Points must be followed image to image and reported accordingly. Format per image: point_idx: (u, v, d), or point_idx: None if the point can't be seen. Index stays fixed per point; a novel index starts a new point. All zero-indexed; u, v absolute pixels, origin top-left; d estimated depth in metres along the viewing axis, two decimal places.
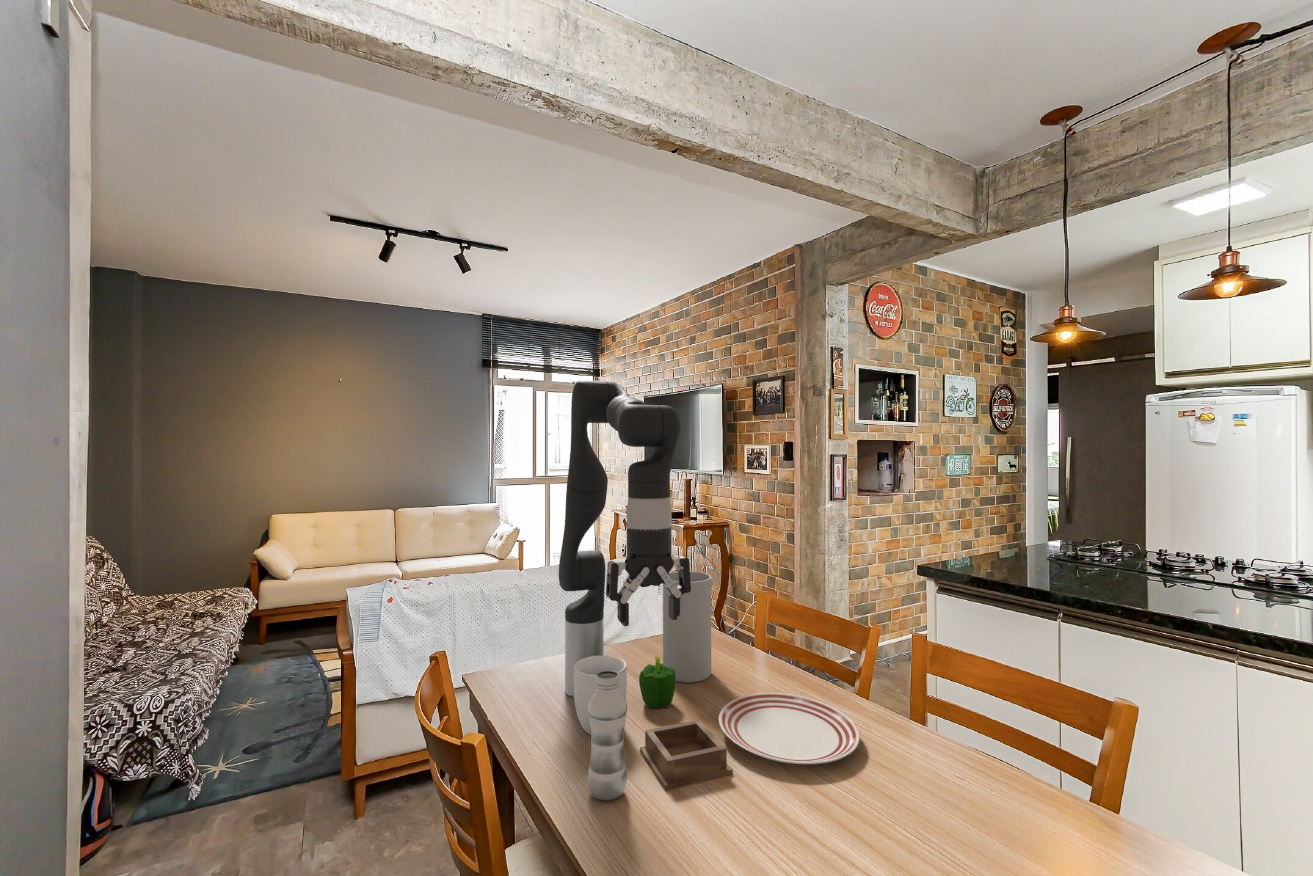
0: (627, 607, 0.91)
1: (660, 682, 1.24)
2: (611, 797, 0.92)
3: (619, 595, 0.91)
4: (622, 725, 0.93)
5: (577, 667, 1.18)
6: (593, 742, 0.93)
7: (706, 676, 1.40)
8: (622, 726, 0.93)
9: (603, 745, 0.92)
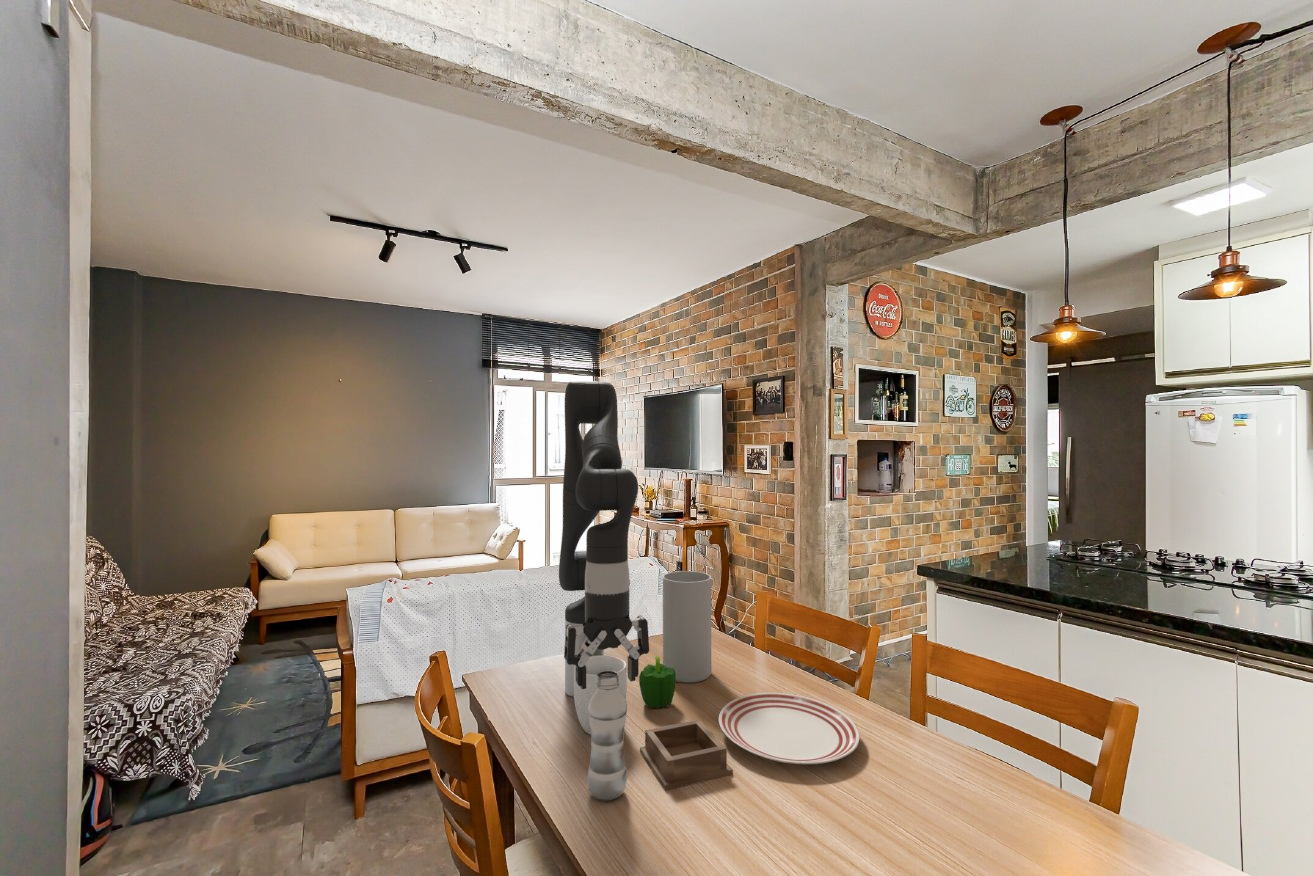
0: (584, 670, 0.92)
1: (660, 682, 1.24)
2: (611, 797, 0.92)
3: (577, 658, 0.92)
4: (622, 725, 0.93)
5: None
6: (593, 742, 0.93)
7: (706, 676, 1.40)
8: (622, 726, 0.93)
9: (603, 745, 0.92)
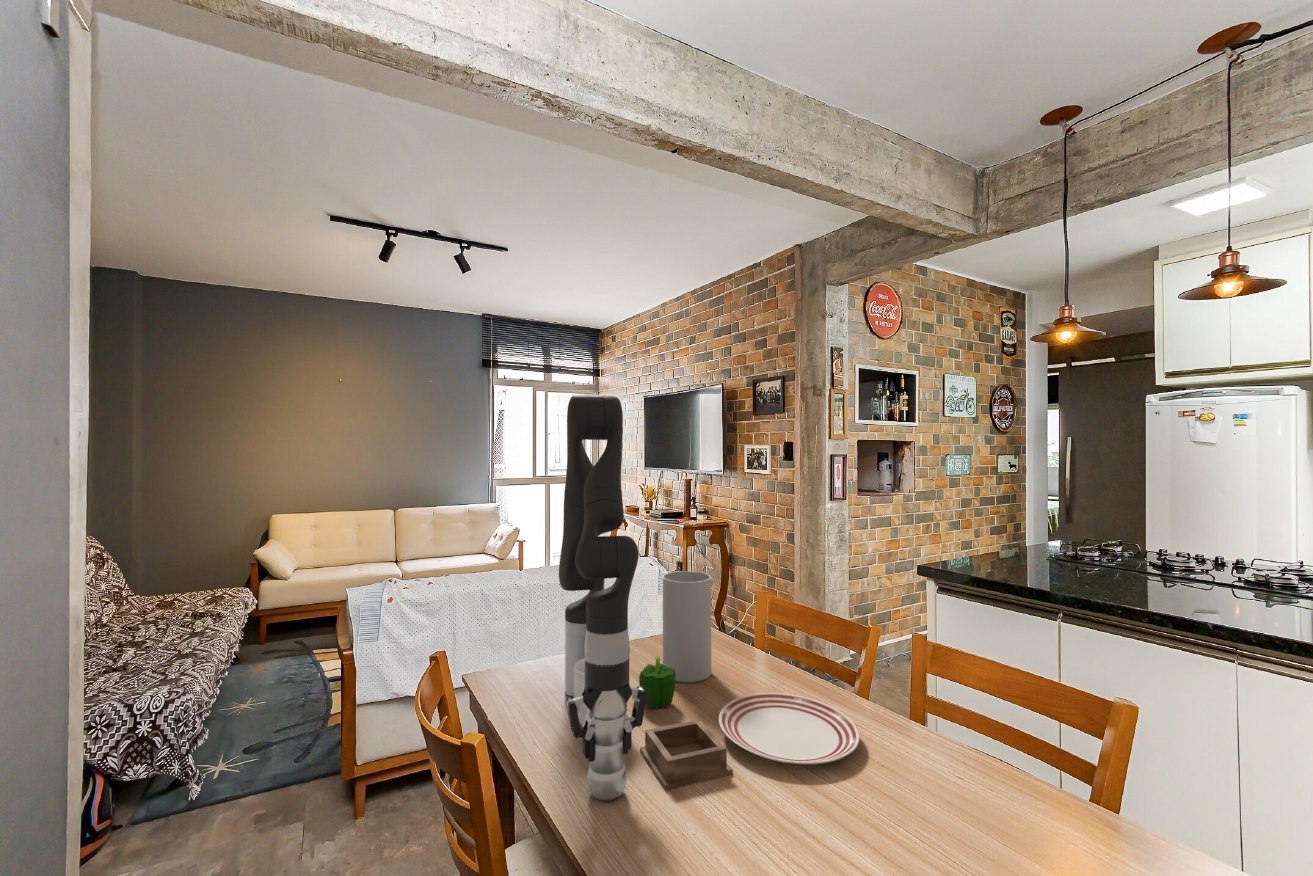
0: (591, 743, 0.93)
1: (660, 682, 1.24)
2: (611, 797, 0.92)
3: (584, 731, 0.93)
4: (622, 725, 0.93)
5: (577, 667, 1.18)
6: (593, 742, 0.93)
7: (706, 676, 1.40)
8: (622, 726, 0.93)
9: (603, 745, 0.92)
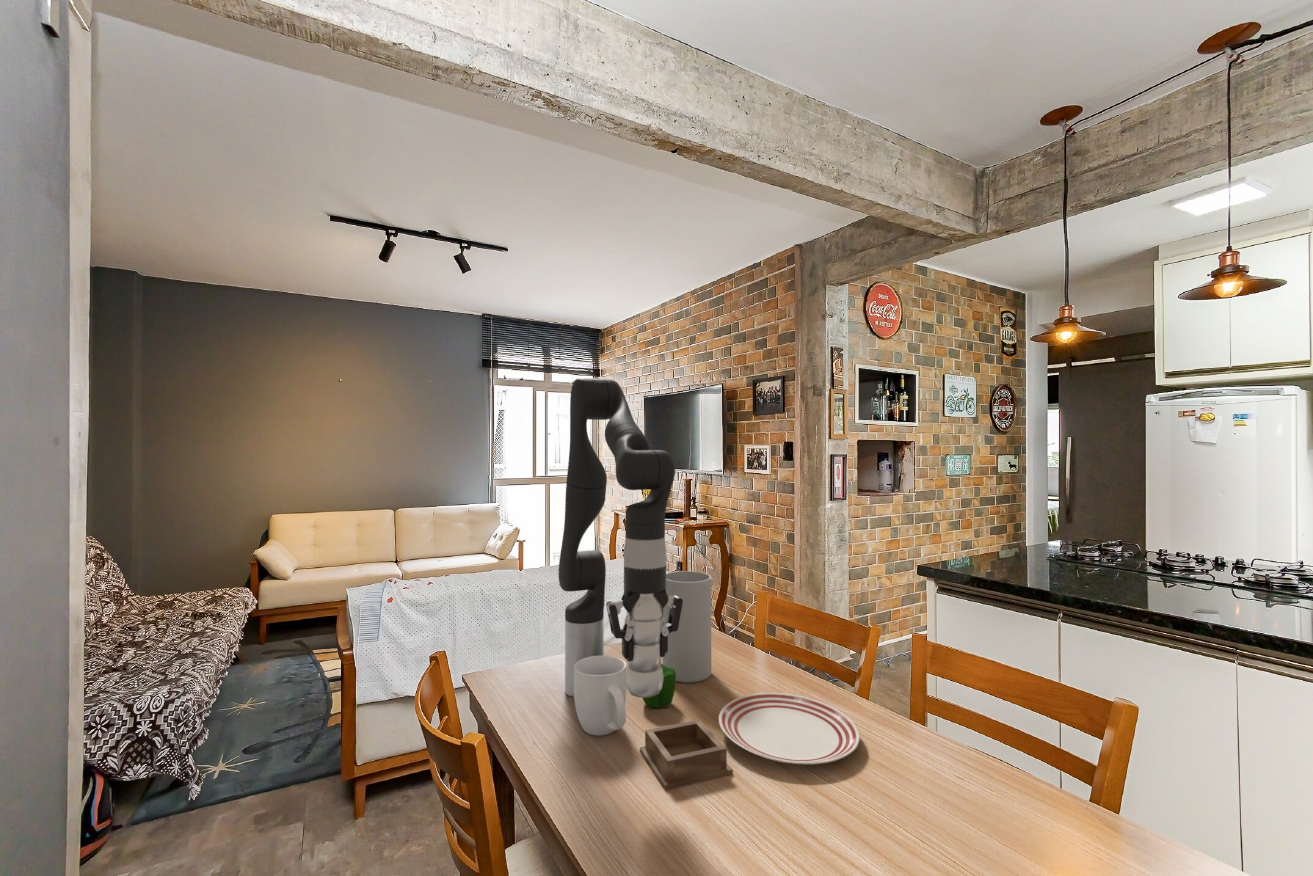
0: (631, 644, 0.98)
1: None
2: (649, 694, 0.97)
3: (623, 633, 0.98)
4: (659, 628, 0.98)
5: (577, 667, 1.18)
6: (632, 644, 0.98)
7: (706, 676, 1.40)
8: (659, 629, 0.98)
9: (641, 646, 0.97)
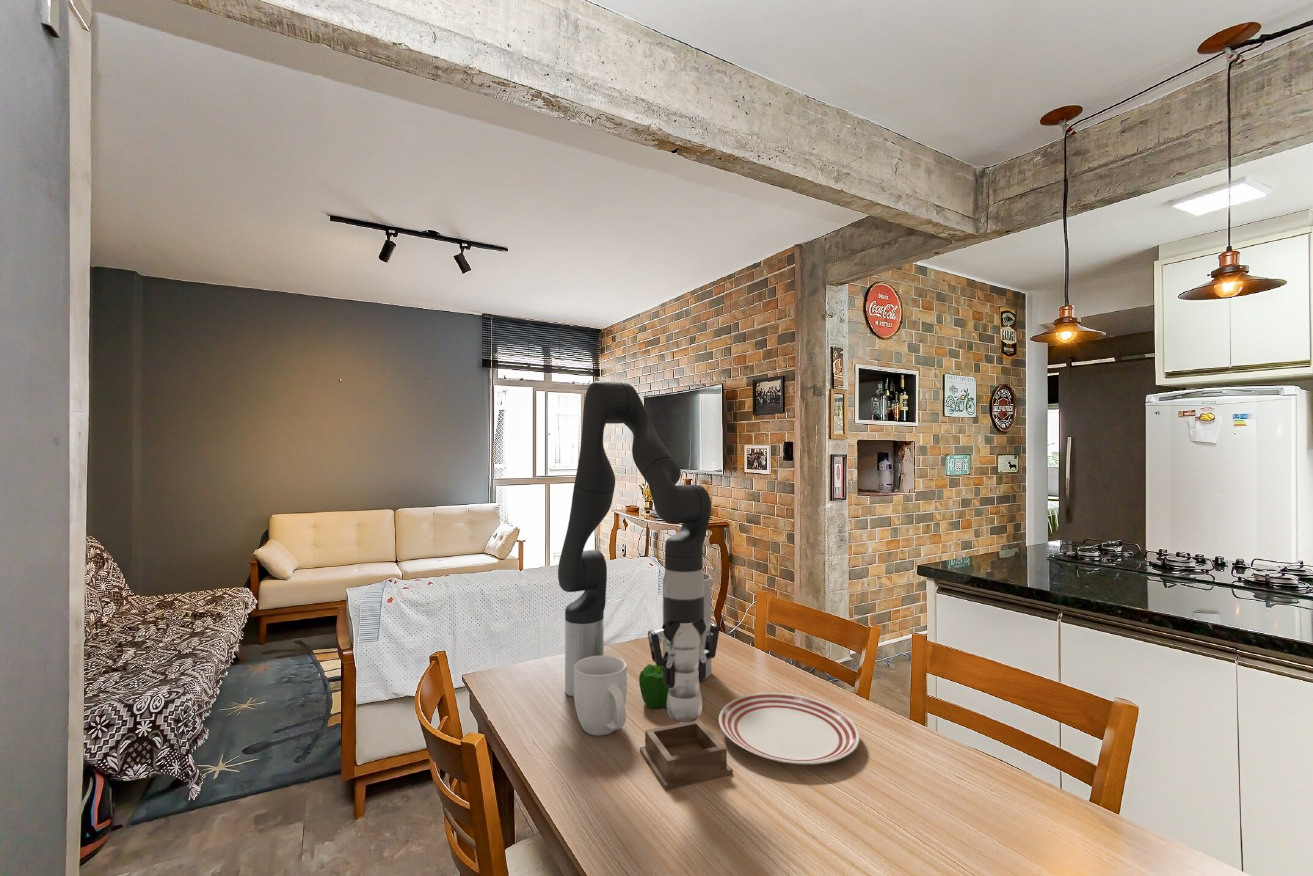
0: (672, 671, 1.02)
1: (660, 682, 1.24)
2: (690, 719, 1.01)
3: (664, 660, 1.02)
4: (698, 655, 1.03)
5: (577, 667, 1.18)
6: None
7: (706, 676, 1.40)
8: (698, 656, 1.03)
9: (682, 673, 1.02)
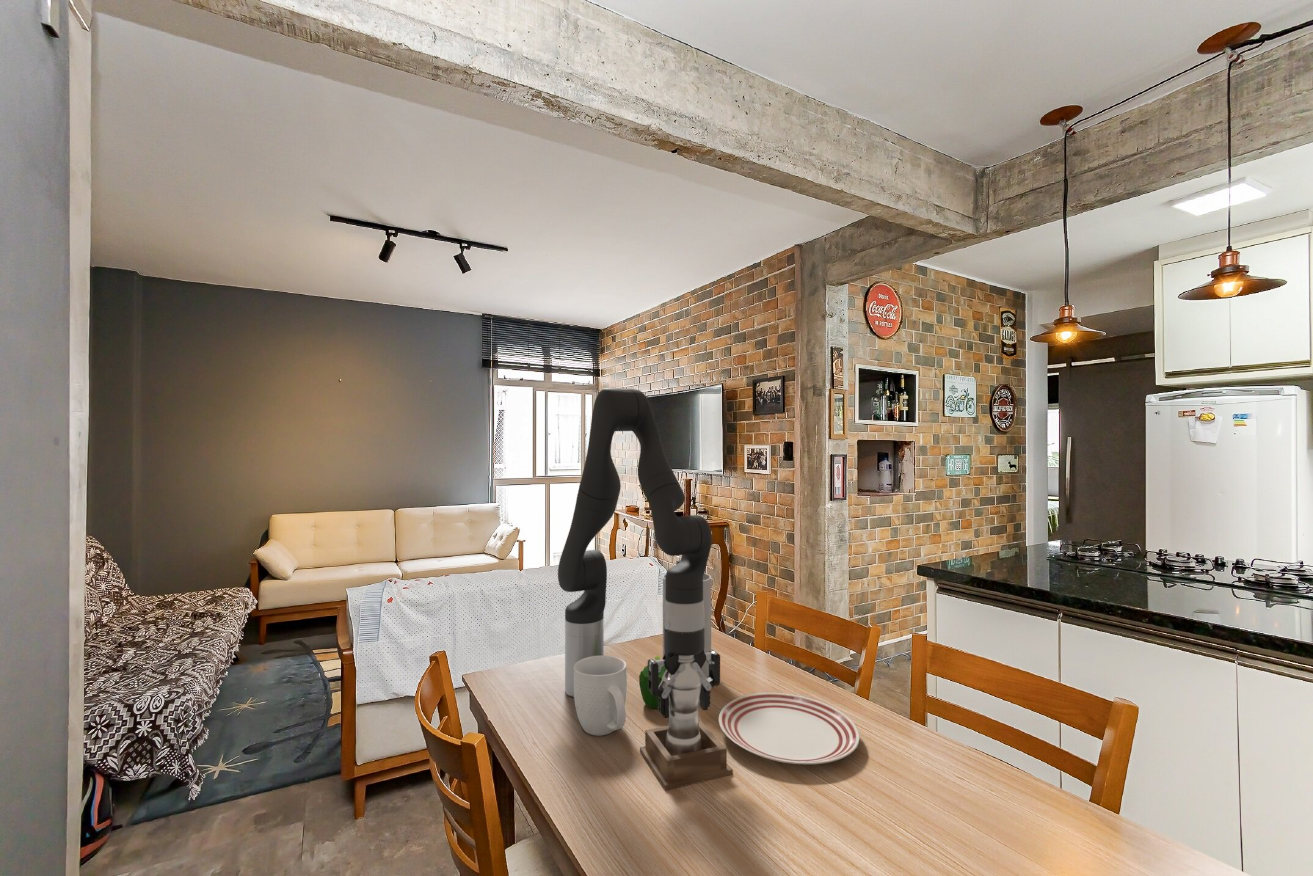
0: (667, 701, 1.02)
1: (660, 682, 1.24)
2: None
3: (660, 690, 1.02)
4: (698, 695, 1.03)
5: (577, 667, 1.18)
6: (671, 710, 1.03)
7: (706, 676, 1.40)
8: (698, 696, 1.03)
9: (681, 713, 1.02)
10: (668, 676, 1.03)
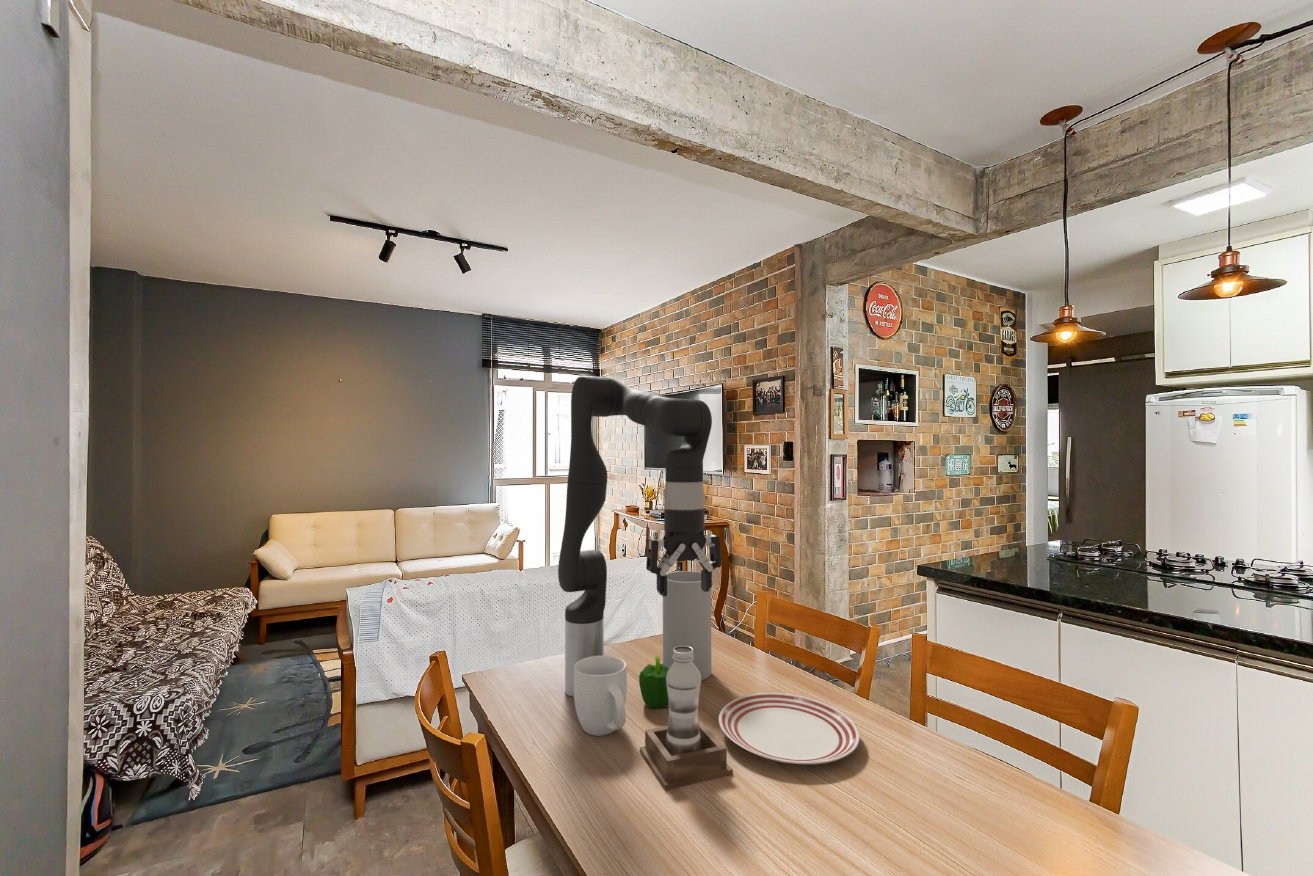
0: (666, 579, 1.02)
1: (660, 682, 1.24)
2: None
3: (658, 568, 1.02)
4: (697, 695, 1.03)
5: (577, 667, 1.18)
6: (671, 710, 1.03)
7: (706, 676, 1.40)
8: (697, 696, 1.03)
9: (680, 713, 1.02)
10: (667, 676, 1.03)
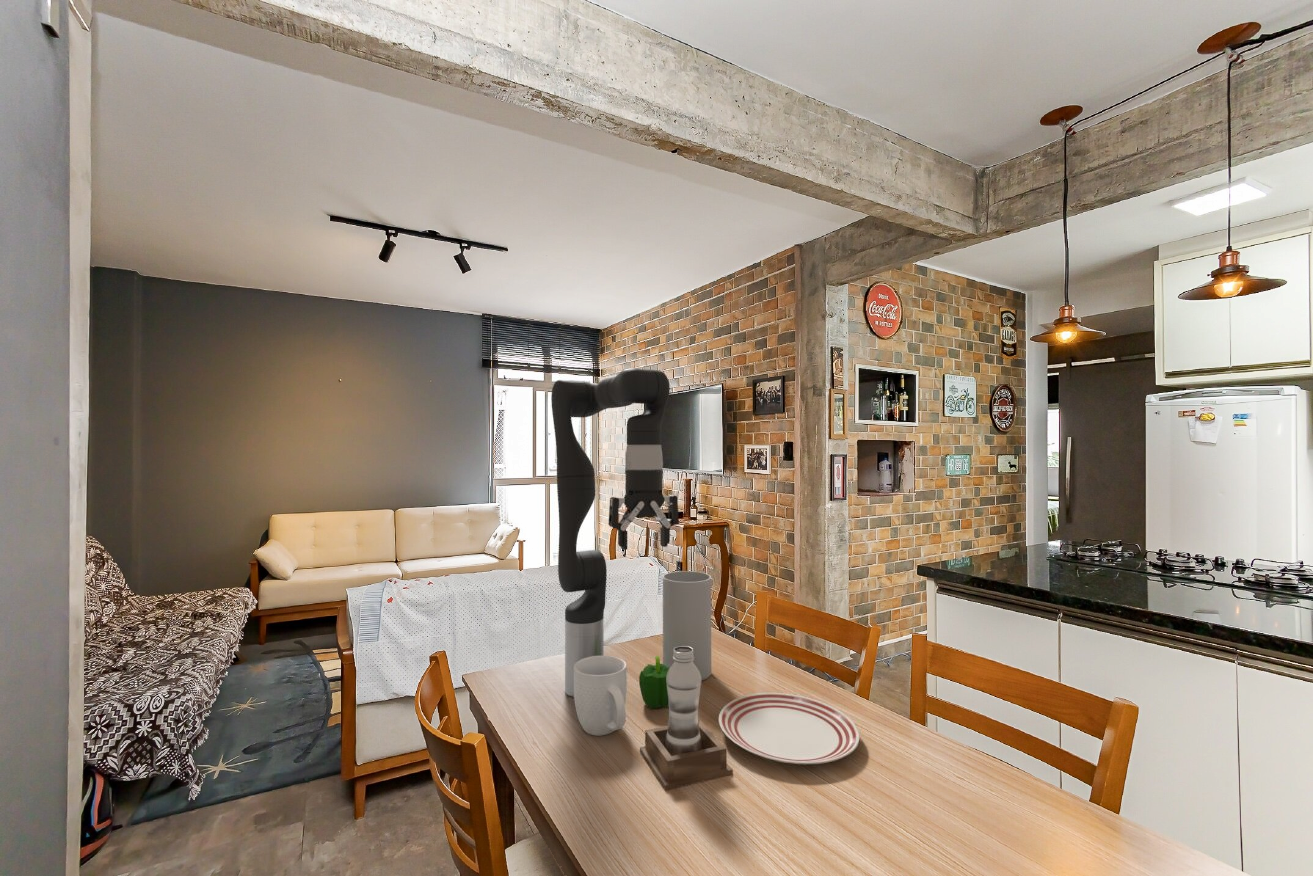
0: (626, 534, 1.11)
1: (660, 682, 1.24)
2: None
3: (619, 524, 1.11)
4: (697, 695, 1.03)
5: (577, 667, 1.18)
6: (671, 710, 1.03)
7: (706, 676, 1.40)
8: (697, 696, 1.03)
9: (680, 713, 1.02)
10: (667, 676, 1.03)
